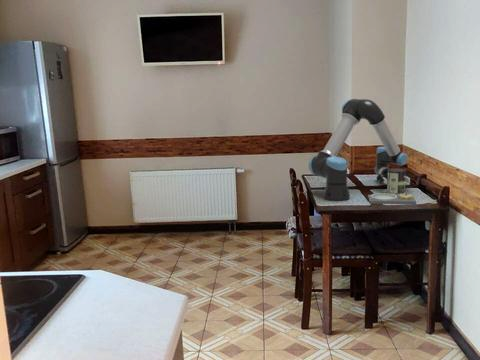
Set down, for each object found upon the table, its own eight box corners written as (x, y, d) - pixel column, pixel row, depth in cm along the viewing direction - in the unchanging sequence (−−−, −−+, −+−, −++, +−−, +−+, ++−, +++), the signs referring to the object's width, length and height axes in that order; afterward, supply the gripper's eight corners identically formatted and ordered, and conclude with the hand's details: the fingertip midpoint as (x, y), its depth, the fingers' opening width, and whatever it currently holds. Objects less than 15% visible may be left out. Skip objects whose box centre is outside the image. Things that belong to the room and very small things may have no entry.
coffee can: (403, 190, 280) (404, 168, 277) (406, 195, 270) (407, 171, 267) (386, 190, 282) (386, 168, 279) (387, 194, 272) (388, 171, 269)
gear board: (370, 203, 255) (370, 195, 254) (368, 197, 269) (368, 189, 268) (416, 204, 251) (416, 196, 250) (411, 197, 264) (411, 189, 263)
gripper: (406, 179, 294) (418, 186, 273) (366, 180, 294) (376, 188, 273) (406, 167, 292) (419, 174, 272) (367, 168, 293) (376, 175, 272)
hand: (397, 181), depth 272 cm, fingers open, 13 cm apart
